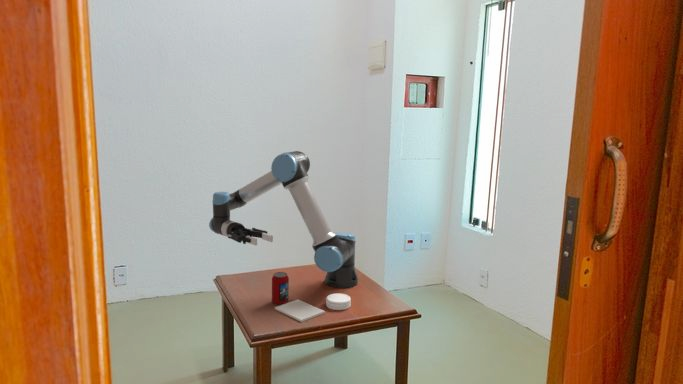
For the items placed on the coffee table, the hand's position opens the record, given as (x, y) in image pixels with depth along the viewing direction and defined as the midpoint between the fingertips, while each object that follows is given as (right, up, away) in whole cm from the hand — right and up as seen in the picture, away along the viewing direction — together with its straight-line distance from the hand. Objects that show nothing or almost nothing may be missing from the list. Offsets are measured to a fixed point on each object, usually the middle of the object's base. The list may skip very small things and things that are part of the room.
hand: (264, 240), depth 201 cm
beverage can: (+7, -25, -3) cm, 26 cm away
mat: (+16, -27, -11) cm, 33 cm away
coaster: (+31, -26, -4) cm, 41 cm away
